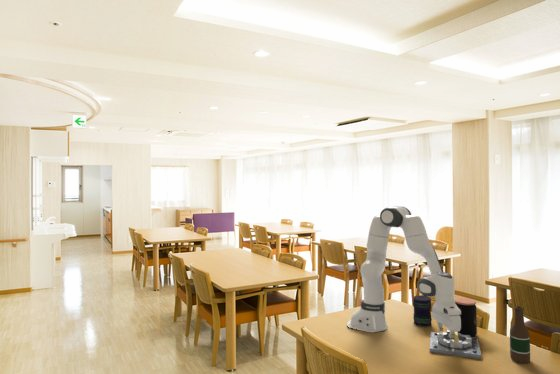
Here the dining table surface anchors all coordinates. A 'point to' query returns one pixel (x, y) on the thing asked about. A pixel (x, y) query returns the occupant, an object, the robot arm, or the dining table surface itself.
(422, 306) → the storage jar
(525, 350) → the beer bottle
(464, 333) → the coffee jar
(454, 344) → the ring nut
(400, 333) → the dining table surface
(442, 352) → the flange plate
